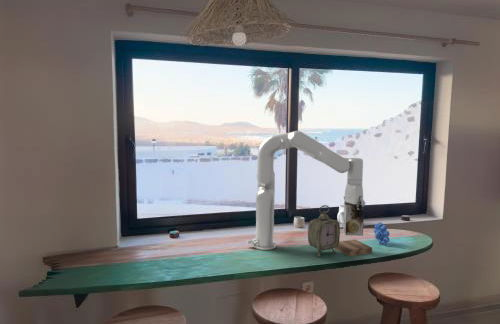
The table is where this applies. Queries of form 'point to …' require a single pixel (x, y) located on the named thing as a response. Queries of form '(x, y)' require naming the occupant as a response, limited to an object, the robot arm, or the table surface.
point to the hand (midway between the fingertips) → (353, 214)
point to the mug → (341, 215)
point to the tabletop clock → (323, 232)
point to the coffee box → (352, 220)
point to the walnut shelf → (353, 248)
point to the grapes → (381, 233)
